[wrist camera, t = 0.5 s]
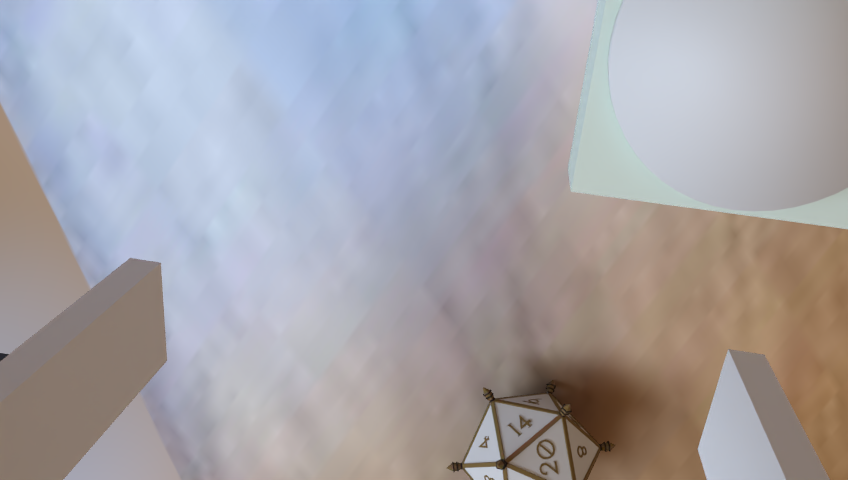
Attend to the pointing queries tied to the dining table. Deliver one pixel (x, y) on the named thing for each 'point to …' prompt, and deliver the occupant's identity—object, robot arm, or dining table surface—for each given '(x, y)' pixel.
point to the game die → (530, 441)
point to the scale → (718, 107)
